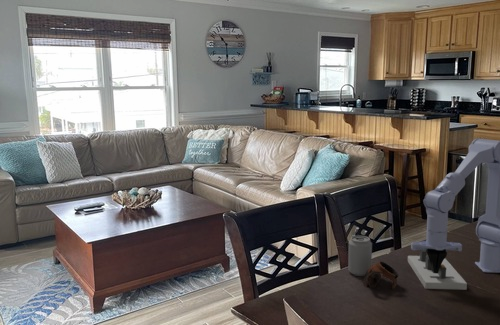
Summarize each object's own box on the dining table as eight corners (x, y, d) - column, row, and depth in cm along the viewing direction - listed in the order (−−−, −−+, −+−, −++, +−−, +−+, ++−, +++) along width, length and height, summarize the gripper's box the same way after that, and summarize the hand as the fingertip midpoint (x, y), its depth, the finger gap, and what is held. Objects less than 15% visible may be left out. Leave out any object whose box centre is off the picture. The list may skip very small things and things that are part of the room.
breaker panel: (443, 261, 154) (443, 246, 154) (466, 289, 133) (467, 272, 132) (407, 261, 156) (408, 245, 155) (425, 288, 134) (425, 271, 133)
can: (369, 268, 150) (370, 234, 148) (373, 277, 143) (374, 241, 141) (346, 267, 151) (347, 234, 149) (349, 277, 144) (350, 241, 142)
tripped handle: (442, 274, 138) (443, 263, 138) (445, 277, 136) (446, 267, 135) (438, 274, 138) (438, 263, 138) (440, 277, 136) (441, 267, 135)
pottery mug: (367, 277, 144) (380, 257, 142) (390, 297, 139) (405, 276, 137) (352, 281, 135) (367, 259, 133) (377, 302, 129) (393, 280, 127)
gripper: (415, 233, 132) (414, 276, 134) (466, 234, 130) (464, 277, 132) (409, 226, 139) (408, 267, 141) (458, 227, 137) (455, 268, 139)
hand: (434, 272), depth 137 cm, fingers closed
